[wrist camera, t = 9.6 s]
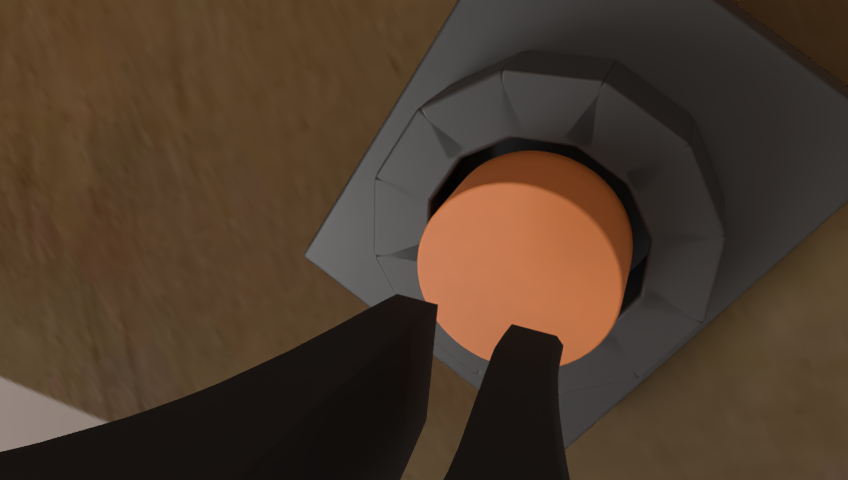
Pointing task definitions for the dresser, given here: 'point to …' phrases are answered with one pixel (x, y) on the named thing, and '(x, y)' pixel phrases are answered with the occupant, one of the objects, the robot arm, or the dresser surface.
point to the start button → (528, 254)
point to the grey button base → (608, 161)
